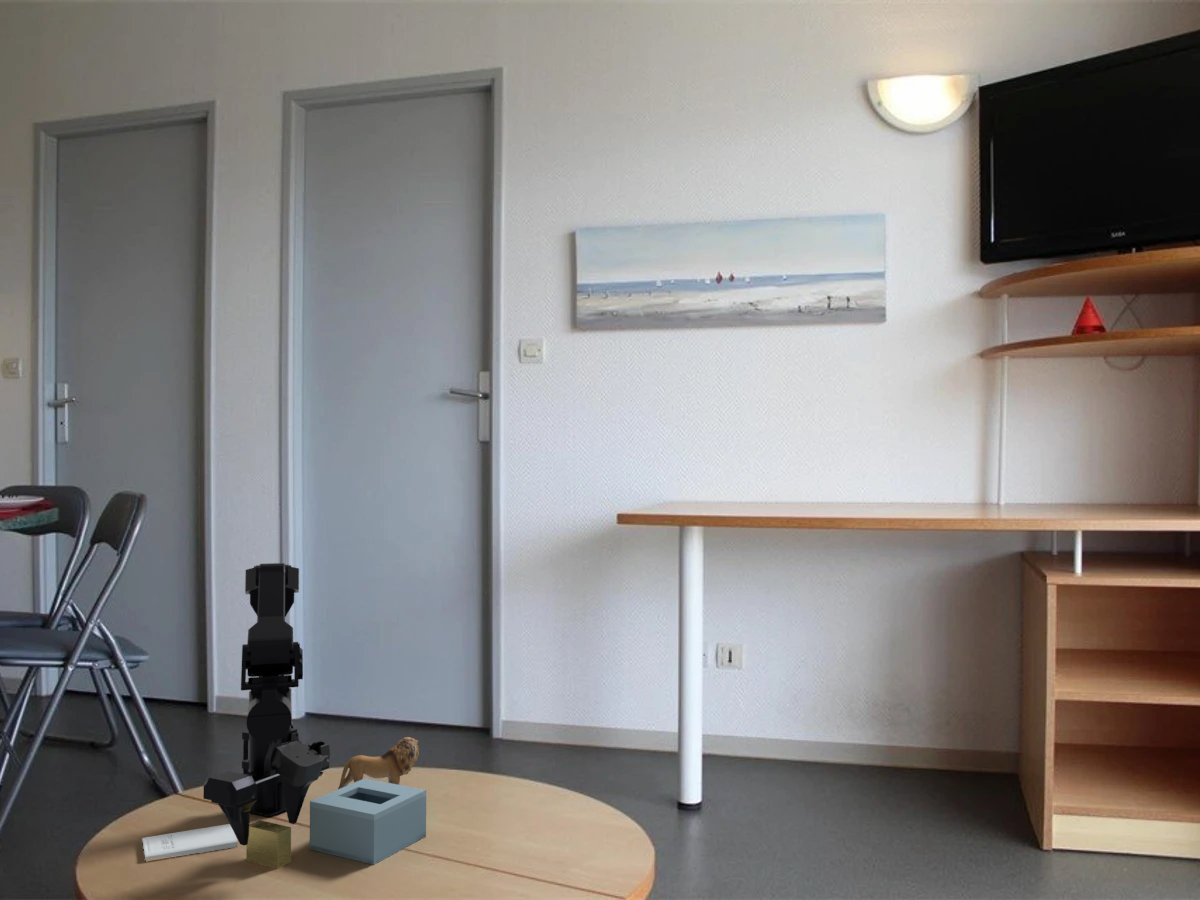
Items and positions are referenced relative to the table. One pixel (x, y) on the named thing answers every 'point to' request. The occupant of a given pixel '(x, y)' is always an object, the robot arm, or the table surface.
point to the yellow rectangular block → (269, 844)
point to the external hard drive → (190, 842)
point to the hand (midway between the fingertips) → (268, 833)
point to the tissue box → (367, 820)
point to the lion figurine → (383, 763)
